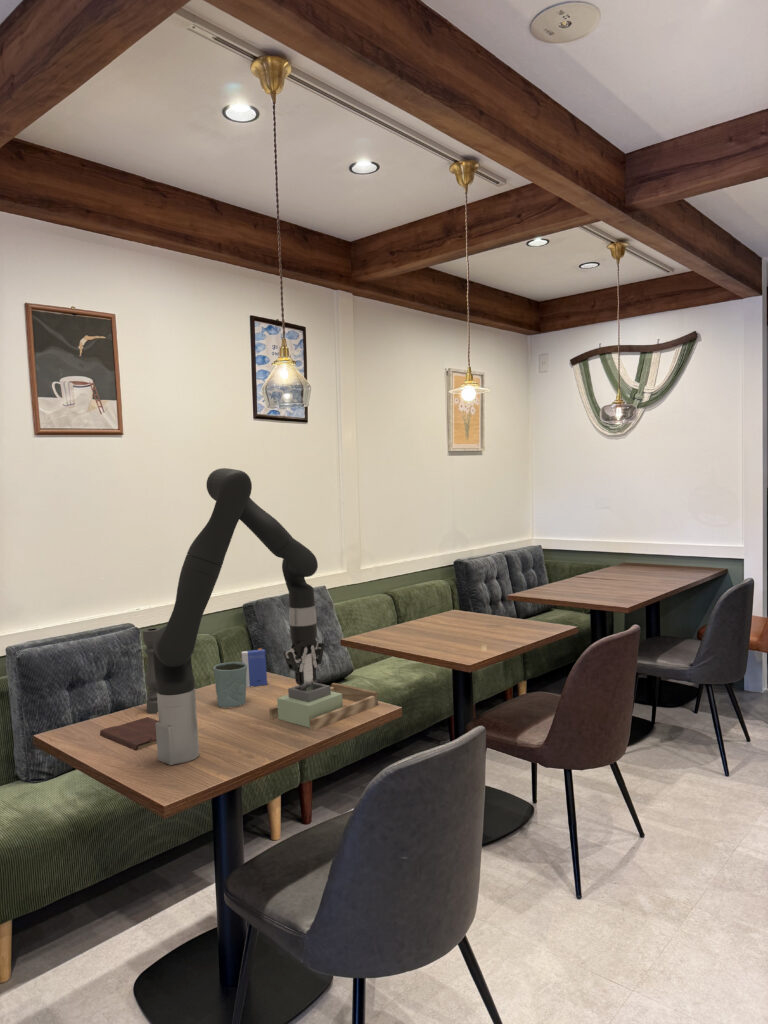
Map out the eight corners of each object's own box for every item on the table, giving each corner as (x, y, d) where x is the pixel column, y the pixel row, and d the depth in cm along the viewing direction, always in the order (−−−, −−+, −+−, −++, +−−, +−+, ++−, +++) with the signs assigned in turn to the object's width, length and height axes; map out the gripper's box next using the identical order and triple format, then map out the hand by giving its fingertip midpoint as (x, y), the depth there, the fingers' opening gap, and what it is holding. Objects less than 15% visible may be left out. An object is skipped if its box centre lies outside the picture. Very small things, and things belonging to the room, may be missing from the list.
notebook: (148, 721, 215) (148, 715, 215) (186, 735, 202) (185, 728, 201) (100, 737, 204) (99, 729, 204) (136, 752, 190) (135, 744, 190)
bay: (313, 735, 195) (312, 716, 195) (270, 722, 207) (269, 705, 207) (378, 708, 215) (377, 692, 214) (335, 698, 227) (334, 682, 226)
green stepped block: (309, 727, 198) (308, 696, 197) (278, 719, 206) (276, 689, 206) (343, 714, 207) (341, 685, 207) (312, 706, 216) (310, 678, 215)
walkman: (266, 682, 248) (264, 648, 248) (267, 685, 246) (265, 649, 245) (243, 685, 246) (240, 650, 246) (243, 687, 244) (241, 652, 243)
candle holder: (154, 714, 220) (149, 632, 218) (142, 711, 223) (137, 630, 222) (172, 708, 224) (166, 628, 223) (159, 705, 228) (154, 626, 227)
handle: (306, 698, 203) (304, 655, 202) (296, 696, 206) (294, 654, 205) (317, 694, 206) (314, 652, 205) (307, 692, 209) (305, 651, 208)
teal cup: (214, 701, 230) (212, 663, 229) (247, 697, 233) (244, 660, 232) (217, 710, 220) (214, 671, 220) (251, 706, 223) (248, 667, 223)
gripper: (292, 628, 197) (296, 691, 198) (330, 618, 208) (333, 678, 208) (274, 625, 202) (278, 686, 203) (312, 616, 212) (315, 674, 213)
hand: (306, 682), depth 206 cm, fingers closed on handle, 4 cm apart
